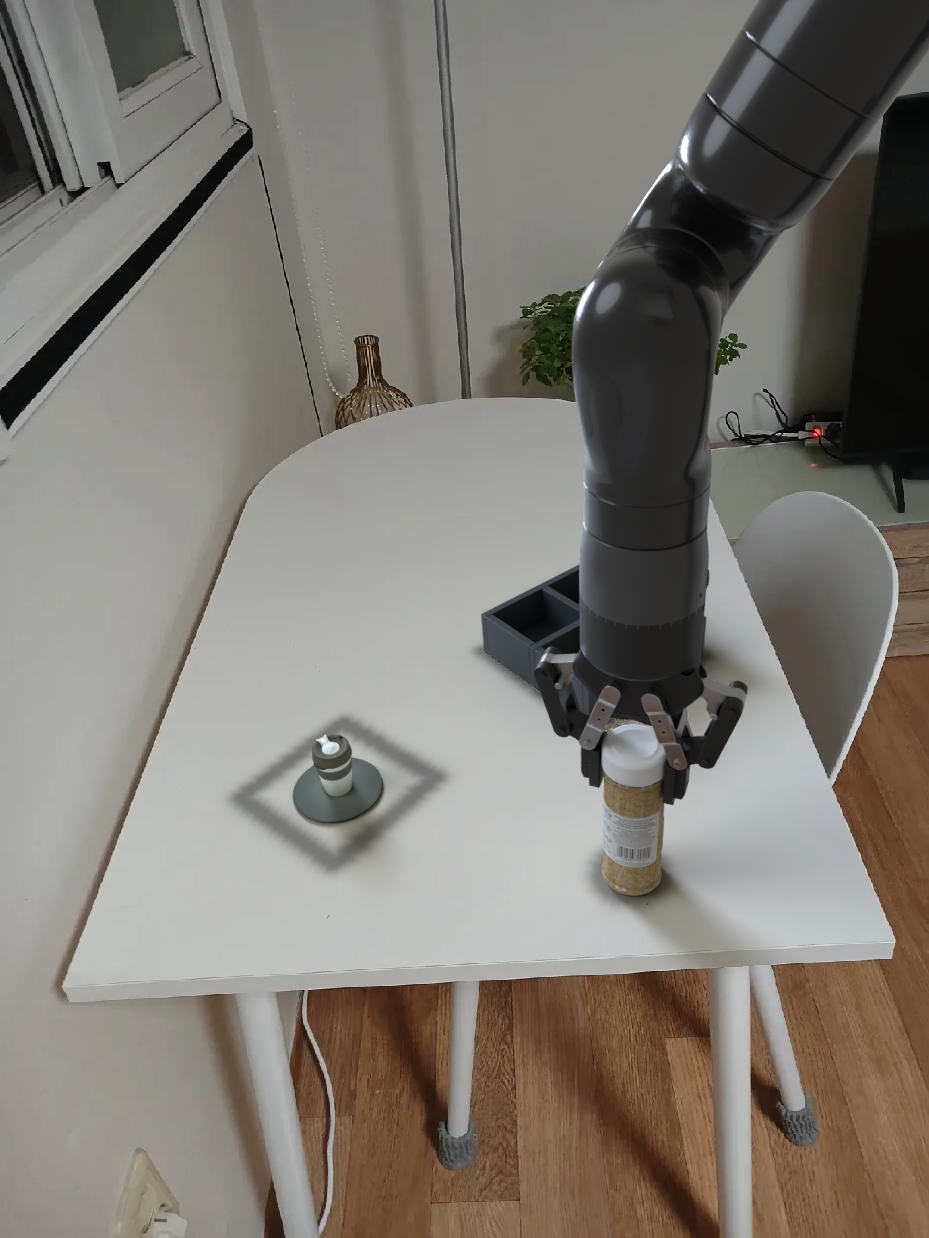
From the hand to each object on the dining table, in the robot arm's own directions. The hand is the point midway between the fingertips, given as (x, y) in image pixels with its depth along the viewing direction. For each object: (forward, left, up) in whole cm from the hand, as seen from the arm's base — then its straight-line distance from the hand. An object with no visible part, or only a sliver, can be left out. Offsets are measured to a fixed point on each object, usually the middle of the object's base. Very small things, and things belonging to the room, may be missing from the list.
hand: (634, 786), depth 67 cm
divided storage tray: (+22, -17, -9) cm, 29 cm away
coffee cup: (+23, +12, -10) cm, 28 cm away
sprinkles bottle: (0, 0, -10) cm, 10 cm away
